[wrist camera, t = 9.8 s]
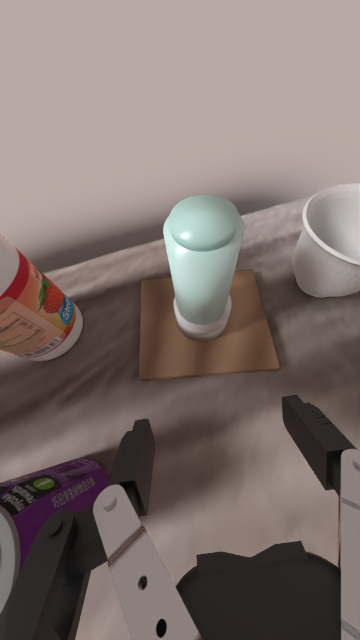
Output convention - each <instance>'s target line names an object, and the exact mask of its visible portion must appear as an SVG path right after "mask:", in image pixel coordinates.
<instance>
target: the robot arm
mask: <svg viewBox="0 0 360 640" xmlns="http://www.w3.org/2000/svg"><path fill="white" fill-rule="evenodd" d="M282 413H283V421H284V425H285V427H286V429H287V431H288V432H289V434H290V435H291V437H292V439H293V440H294V442H295V443H296V445H297V446H298V448H299V450H300V451H301V453H302V454H303V456H304V457H305V459H306V461H307V462H308V464H309V465H310V467H311V468H312V470H313V471H314V473H315V475H316V476H317V478H318V479H319V481H320V482H321V484H322V486H323V487H324V489H325V490H332V489H334V490H335V491H336V493H337V494H338V496H339V504H338V556H337V566H335V565H334V564H332V563H331V562H329V561H328V560H326V559H324V558H322V557H320V556H318V555H316V554H313V553H310V552H306V551H305V549H304V547H303V545H302V542H301V541H296V542H289V543H281V544H275V545H273V546H271V547H269V548H268V549H266V550H264V551H262V552H260V553H259V554H257V555H255V556H253V557H250V558H249V557H244V556H239V555H235V554H230V553H226V552H215V553H208V554H200V555H197V566H195V567H194V568H192V569H191V570H190V571H188V572H187V573H186V574H185V575H184V576H183V577H182V578H181V580H180V581H179V583H178V584H177V585H176V587H175V585H174V583H173V581H172V579H171V577H170V575H169V574H168V572H167V570H166V568H165V566H164V564H163V562H162V560H161V558H160V556H159V554H158V552H157V550H156V548H155V546H154V544H153V542H152V540H151V539H150V537H149V535H148V533H147V531H146V529H145V527H143V526H142V524H141V522H140V516H146V515H147V512H148V503H149V495H150V486H151V477H152V469H153V460H154V452H155V442H154V437H153V433H152V430H151V426H150V423H149V420H148V419H142V420H136V421H135V423H134V426H133V430H132V431H127V432H126V434H125V435H124V437H123V438H122V439H121V443H120V446H119V450H118V452H117V457H116V459H115V462H114V466H113V469H112V472H111V475H110V479H109V482H108V485H107V488H106V489H104V490H103V491H102V492H101V493H100V494H99V496H98V497H97V499H96V501H95V503H94V504H92V505H90V506H89V507H87V508H85V509H83V510H81V511H79V512H77V513H75V514H73V513H72V511H71V510H70V509H61V510H59V511H57V512H55V513H54V514H52V515H51V516H50V517H49V518H48V519H47V520H46V521H45V522H44V524H43V525H42V527H41V528H40V530H39V532H38V534H37V536H36V538H35V540H34V543H33V545H32V547H31V549H30V551H29V553H28V556H27V558H26V560H25V562H24V564H23V566H22V569H21V571H20V573H19V575H18V577H17V579H16V582H15V584H14V586H13V588H12V590H11V592H10V595H9V597H8V599H7V601H6V603H5V605H4V608H3V610H2V612H1V614H0V640H75V637H76V633H77V628H78V624H79V620H80V616H81V611H82V607H83V603H84V599H85V594H86V590H87V586H88V582H89V577H90V573H91V570H93V569H95V568H96V567H98V566H100V565H101V564H103V563H105V562H106V561H108V566H109V570H110V573H111V576H112V580H113V583H114V586H115V589H116V592H117V596H118V599H119V602H120V605H121V608H122V612H123V615H124V618H125V621H126V624H127V628H128V631H129V634H130V637H131V640H360V450H357V449H356V448H355V447H354V446H353V445H352V444H351V442H350V441H349V440H348V439H347V438H346V437H345V436H344V435H343V434H342V433H341V432H340V431H339V430H338V429H337V428H336V426H335V425H334V424H332V422H331V421H330V420H329V419H328V418H326V416H325V415H324V414H323V413H322V412H321V410H320V409H319V408H317V407H315V406H314V405H312V404H310V403H303V401H302V400H301V399H300V398H299V397H298V396H297V395H291V396H285V397H282Z"/></svg>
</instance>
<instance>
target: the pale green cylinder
mask: <svg viewBox="0 0 360 640" xmlns="http://www.w3.org/2000/svg"><path fill="white" fill-rule="evenodd" d="M163 232H164V238H165V244H166V249H167V254H168V260H169V265H170V271H171V276H172V281H173V287H174V292H175V297H176V303H177V308H178V311H179V313H180V315H181V316H182V317H183V318H184V319H185V320H186V321H188V322H190V323H193V324H196V325H207V324H211V323H213V322H215V321H217V320H218V319H219V318H220V317H221V316H222V315H223V313H224V311H225V308H226V304H227V300H228V296H229V292H230V288H231V284H232V280H233V275H234V271H235V267H236V263H237V259H238V255H239V251H240V247H241V242H242V238H243V234H244V222H243V220H242V218H241V216H240V215H239V214H238V211H237V209H236V207H235V206H234V205H233V204H232V203H231V202H230V201H228V200H227V199H224V198H222V197H219V196H215V195H197V196H192V197H189V198H186V199H184V200H182V201H181V202H179V203H178V204H177V205H176V206H175V207H174V208H173V209H172V211H171V213H170V216H169V217H168V218H167V220H166V222H165V224H164V229H163Z"/></svg>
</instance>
